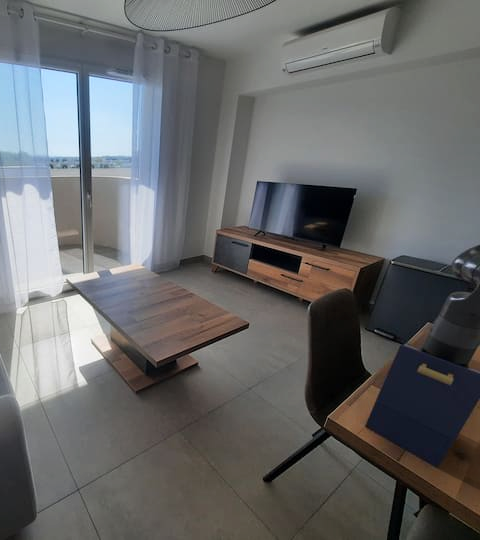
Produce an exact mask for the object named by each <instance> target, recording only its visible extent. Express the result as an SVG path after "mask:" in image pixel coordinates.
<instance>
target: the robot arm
mask: <svg viewBox="0 0 480 540" xmlns="http://www.w3.org/2000/svg"><path fill="white" fill-rule="evenodd" d="M450 272H451V273H452V275H453V276H454V277H456V278H458V279H459V280H461V281H464V282H466V283H469V284H471V285H473V286H476V287H475V288H474V290H472V292H467V291H455V292H451V293H450V294H449V295H448V296H447V297H446V299H445V302H444V304H443V305H442V308H441V310H440V312H439V313H438V316H437V317H436V318H435V320H433V323H432V325H431V326H430V328H429V332H428V334H427V336H426V338H425V340H424V342H423V345H422V347H421V348H416V347H414V346H412V345H411V344H410V343H407V342H406V343H404V344H403V345H405V346H408V347H410V348H413V349H416V350H419V351H421V352H424V353H427V354H429V355H432V356H435V357H438V358H440V359H443V360H446V361H448V362H451V363H454V364H456V365H459V366H462V367H465V368H467V369H470V370H473V371H475V372H478V373H480V370H476V369H472V368H470V366H469V364H470V362H471V360H472V359H473V357H474V355H475V354H476V351H477V350H478V348H479V347H480V244H477V245H474V246H472V247H470V248H468V249H465V250H464V251H463V252H461V253H459V254H458V255H457V256H456V257H455V258H454V259H453V260H452V262H451V265H450Z"/></svg>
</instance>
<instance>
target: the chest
mask: <svg viewBox="0 0 480 540" xmlns="http://www.w3.org/2000/svg"><path fill="white" fill-rule="evenodd" d="M364 427H365V428H367V429H368V430H370V431H371V432H373V433H375V434H377V435H378V436H381V437H382V438H384V439H386V440H387V441H389V442H391V443H393V444H394V445H396V446H397V447H399V448H401V449H404V450H405V451H407V452H408V453H410V454H412V455H414V456H415V457H417V458H419V459H421V460H422V461H424V462H426V463H427V464H429V465H431V466H432V467H434V468H436V469H439V467H440V465H442V463H443V461H444V459H445V457H446V456H447V454H448V452H449V450H451V448H452V446H453V444H454V442H455V441H454V440H452V439H450V438H448V437H446V436H444V435H442V434H440V433H439V432H437V431H435V430H433V429H431V428H429V427H427V426H425V425H423V424H421V423H419V422H417V421H415V420H413V419H411V418H409V417H407V416H405V415H403V414H401V413H399V412H397V411H395V410H393V409H391V408H389V407H387V406H385V405H383V404H381V403H379V402H377V401H376V400H375V402H374V404H373V407H372V409H371V411H370V413H369V415H368V418H367V420H366V422H365V425H364Z"/></svg>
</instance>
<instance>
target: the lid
mask: <svg viewBox="0 0 480 540" xmlns="http://www.w3.org/2000/svg"><path fill="white" fill-rule="evenodd" d="M413 348H414V347H413ZM413 348H410V347H408V346H405V345H404V344H402V343H400V345H399V347H398V349H397V352H396V354H395V356H394V359H393V361H392V364H391V365H390V368H389V370H388V372H387V374H386V377H385V379H384V381H383V383H382V386H381V388H380V390H379V392H378V395H377V396H376V400H375V402H376V401H377V402H379V403H381V404H383V405H385V406H387V407H389V408H391V409H393V410H395V411H397V412H399V413H401V414H403V415H405V416H407V417H409V418H411V419H413V420H415V421H417V422H419V423H421V424H423V425H425V426H427V427H429V428H431V429H433V430H435V431H437V432H439V433H440V434H442V435H444V436H446V437H448V438H450V439H452V440H454V442H455V441H456V439H457V438H458V437H459V435H460V433H461V431H462V430H463V428H464V426H465V424H466V423H467V421H468V420H469V418H470V416H471V415H472V413H473V411H474V409H475V408H476V406H477V404H478V403H479V401H480V373H478V372H475V371H473V370H474V369H473V370H470V369H471V368H470V369H467V368H465V367H462V366H459V365H456V364H454V363H451V362H448V361H446V360H443V359H440V358H438V357H435V356H432V355H429V354H427V353H424V352H421V351H419V349H418V350H416V349H417V348H416V349H413Z"/></svg>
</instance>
